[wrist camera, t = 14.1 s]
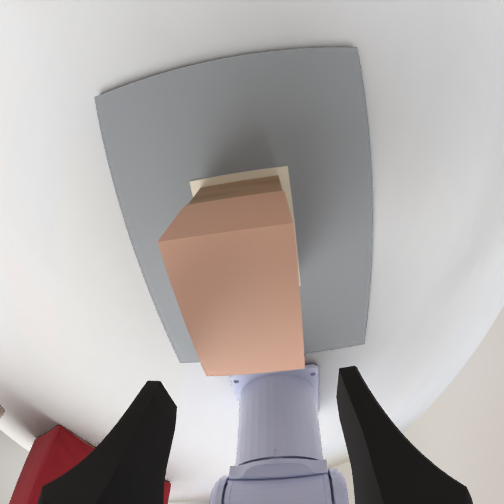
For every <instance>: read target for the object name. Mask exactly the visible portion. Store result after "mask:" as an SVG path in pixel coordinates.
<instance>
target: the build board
mask: <svg viewBox="0 0 504 504" xmlns="http://www.w3.org/2000/svg"><path fill="white" fill-rule="evenodd" d="M94 98H95V103H96V109H97V114H98V119H99V124H100V129H101V134H102V139H103V143H104V148H105V152H106V156H107V160H108V164H109V168H110V172H111V176H112V180H113V183H114V187H115V191H116V194H117V198H118V201H119V205H120V208H121V211H122V215H123V218H124V221H125V224H126V228H127V231H128V234H129V237H130V240H131V243H132V246H133V249H134V252H135V254H136V257H137V260H138V263H139V266H140V268H141V271H142V274H143V277H144V279H145V282H146V284H147V287H148V290H149V292H150V295H151V297H152V300H153V302H154V305H155V307H156V310H157V312H158V314H159V317H160V319H161V322H162V324H163V326H164V329H165V331H166V333H167V335H168V338H169V340H170V342H171V344H172V346H173V349H174V351H175V353H176V355H177V357H178V359H179V361H180V363H190V362H200V360H199V358H198V355H197V353H196V350H195V348H194V345H193V343H192V340H191V337H190V335H189V332H188V330H187V327H186V324H185V322H184V319H183V316H182V314H181V311H180V308H179V305H178V303H177V300H176V297H175V294H174V291H173V289H172V286H171V283H170V280H169V277H168V274H167V271H166V268H165V265H164V262H163V258H162V255H161V252H160V249H159V246H158V241H159V239H160V238H161V236H162V235H163V234H164V232H165V231H166V230H167V228H168V227H169V225H170V224H171V223H172V221H173V220H174V219H175V217H176V216H177V215H178V213H179V212H180V211H181V209H182V208H183V207H184V206H185V205H188V204H189V202H190V201H191V200H192V198H193V197H194V196H195V194H196V193H197V192H198V190H199V189H200V188H201V187H206V186H212V185H218V184H224V183H230V182H236V181H242V180H249V179H255V178H262V177H269V176H277V175H278V176H279V180H280V183H281V187H282V190H283V191H284V192H285V195H286V199H287V202H288V206H289V209H290V213H291V217H292V220H293V225H294V234H295V244H296V254H297V264H298V275H299V287H300V299H301V312H302V326H303V342H304V353H312V352H319V351H325V350H332V349H338V348H344V347H350V346H355V345H361V344H364V343H365V335H366V326H367V317H368V306H369V294H370V280H371V262H372V221H373V214H372V173H371V155H370V141H369V129H368V119H367V110H366V102H365V94H364V87H363V80H362V74H361V67H360V62H359V56H358V51H357V47H317V48H298V49H286V50H275V51H266V52H259V53H251V54H245V55H238V56H233V57H227V58H222V59H217V60H212V61H207V62H203V63H198V64H194V65H190V66H186V67H182V68H178V69H174V70H171V71H167V72H164V73H160V74H157V75H154V76H151V77H148V78H145V79H141V80H139V81H136V82H133V83H130V84H127V85H124V86H122V87H119V88H116V89H114V90H111V91H109V92H106V93H104V94H101V95H99V96H96V97H94Z"/></svg>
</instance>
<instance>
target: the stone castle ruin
mask: <svg viewBox="0 0 504 504" xmlns="http://www.w3.org/2000/svg"><path fill="white" fill-rule="evenodd" d="M4 412H5V410H4V409H3V407H2V406H1V405H0V418H1V416H2V415H3V414H4Z"/></svg>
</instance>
